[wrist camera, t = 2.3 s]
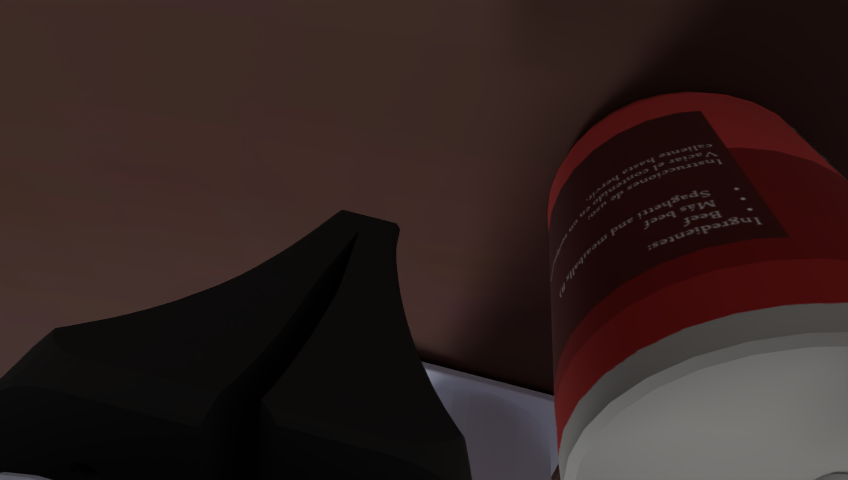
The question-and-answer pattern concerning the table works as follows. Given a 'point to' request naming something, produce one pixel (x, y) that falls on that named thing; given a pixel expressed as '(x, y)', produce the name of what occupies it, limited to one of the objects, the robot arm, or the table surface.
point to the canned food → (699, 297)
